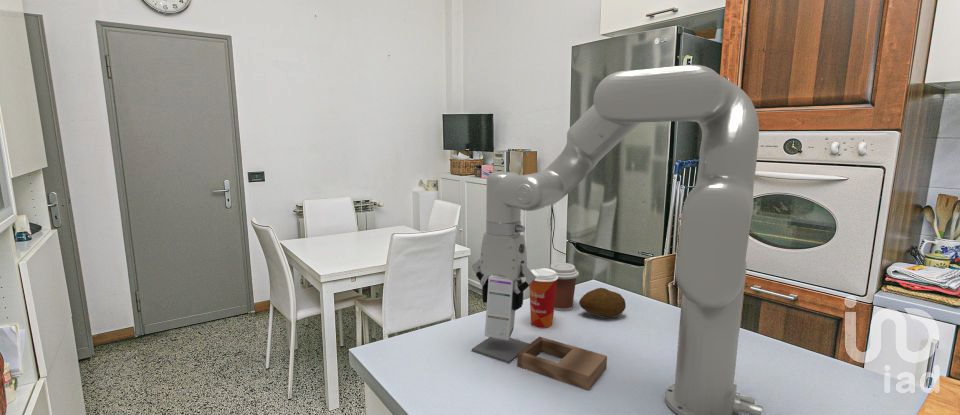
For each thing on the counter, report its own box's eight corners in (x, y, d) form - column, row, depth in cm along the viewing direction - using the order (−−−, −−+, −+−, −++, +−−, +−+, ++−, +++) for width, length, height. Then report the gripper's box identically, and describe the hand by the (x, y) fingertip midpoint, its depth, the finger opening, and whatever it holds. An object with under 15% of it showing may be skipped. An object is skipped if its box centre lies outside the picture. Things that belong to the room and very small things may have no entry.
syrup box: (509, 341, 103) (515, 280, 100) (483, 336, 105) (488, 275, 102) (513, 329, 109) (519, 271, 106) (489, 325, 110) (494, 267, 107)
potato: (630, 321, 123) (631, 293, 122) (584, 323, 122) (585, 294, 120) (618, 309, 131) (619, 283, 130) (575, 311, 130) (576, 284, 128)
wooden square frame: (606, 369, 98) (607, 355, 98) (588, 390, 90) (588, 376, 90) (538, 348, 107) (539, 336, 107) (517, 366, 99) (517, 353, 99)
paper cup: (521, 320, 123) (522, 269, 121) (546, 315, 126) (547, 266, 124) (537, 332, 116) (538, 278, 114) (562, 326, 119) (564, 274, 117)
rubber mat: (531, 346, 108) (531, 344, 108) (509, 363, 100) (509, 361, 100) (495, 335, 114) (495, 333, 114) (471, 351, 106) (471, 348, 106)
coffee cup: (566, 299, 139) (567, 260, 137) (584, 309, 131) (585, 268, 129) (539, 303, 136) (540, 263, 134) (555, 314, 127) (557, 272, 125)
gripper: (546, 230, 101) (544, 308, 104) (480, 221, 110) (480, 292, 113) (529, 236, 94) (527, 319, 97) (461, 226, 104) (461, 301, 107)
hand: (502, 304), depth 105 cm, fingers closed on syrup box, 7 cm apart
